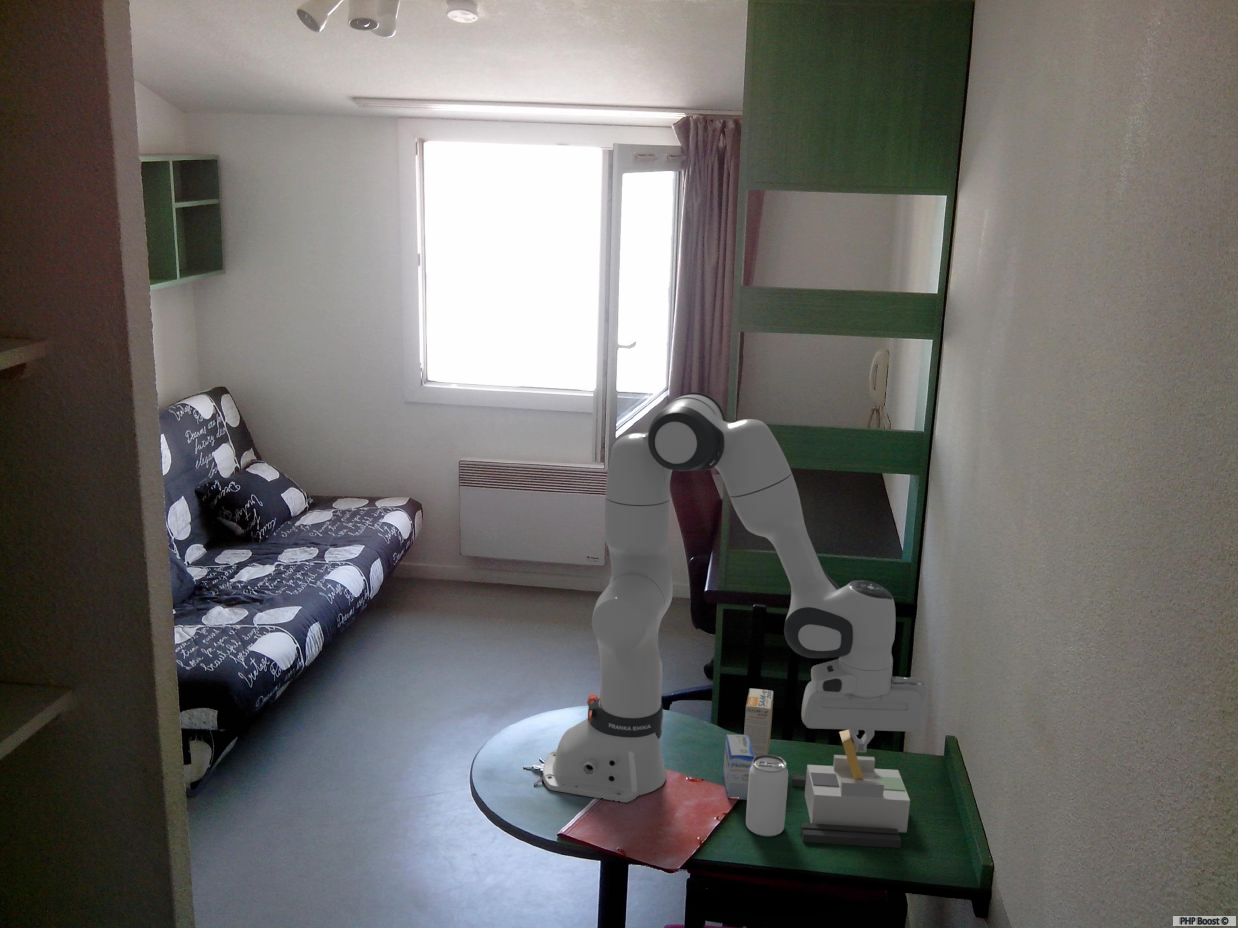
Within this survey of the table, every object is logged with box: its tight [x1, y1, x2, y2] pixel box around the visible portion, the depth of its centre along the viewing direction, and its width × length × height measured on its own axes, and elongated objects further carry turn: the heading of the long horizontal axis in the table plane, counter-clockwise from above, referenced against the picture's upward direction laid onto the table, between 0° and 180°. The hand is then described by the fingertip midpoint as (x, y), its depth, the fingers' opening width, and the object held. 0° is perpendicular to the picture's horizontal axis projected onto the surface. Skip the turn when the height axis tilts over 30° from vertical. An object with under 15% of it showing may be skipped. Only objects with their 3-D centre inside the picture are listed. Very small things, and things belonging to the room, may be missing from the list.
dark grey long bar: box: [790, 774, 806, 788], centre depth 191 cm, size 16×1×1 cm, turn 87°
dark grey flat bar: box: [800, 822, 902, 849], centre depth 175 cm, size 16×3×1 cm, turn 87°
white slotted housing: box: [804, 754, 911, 833], centre depth 182 cm, size 16×10×8 cm, turn 87°
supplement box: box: [743, 688, 774, 757], centre depth 198 cm, size 8×5×13 cm, turn 168°
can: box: [745, 754, 789, 838], centre depth 177 cm, size 6×6×12 cm
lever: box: [838, 729, 864, 780], centre depth 181 cm, size 2×6×9 cm, turn 176°
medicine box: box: [722, 734, 755, 801], centre depth 189 cm, size 8×4×9 cm, turn 1°
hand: (859, 750), depth 180 cm, fingers closed
